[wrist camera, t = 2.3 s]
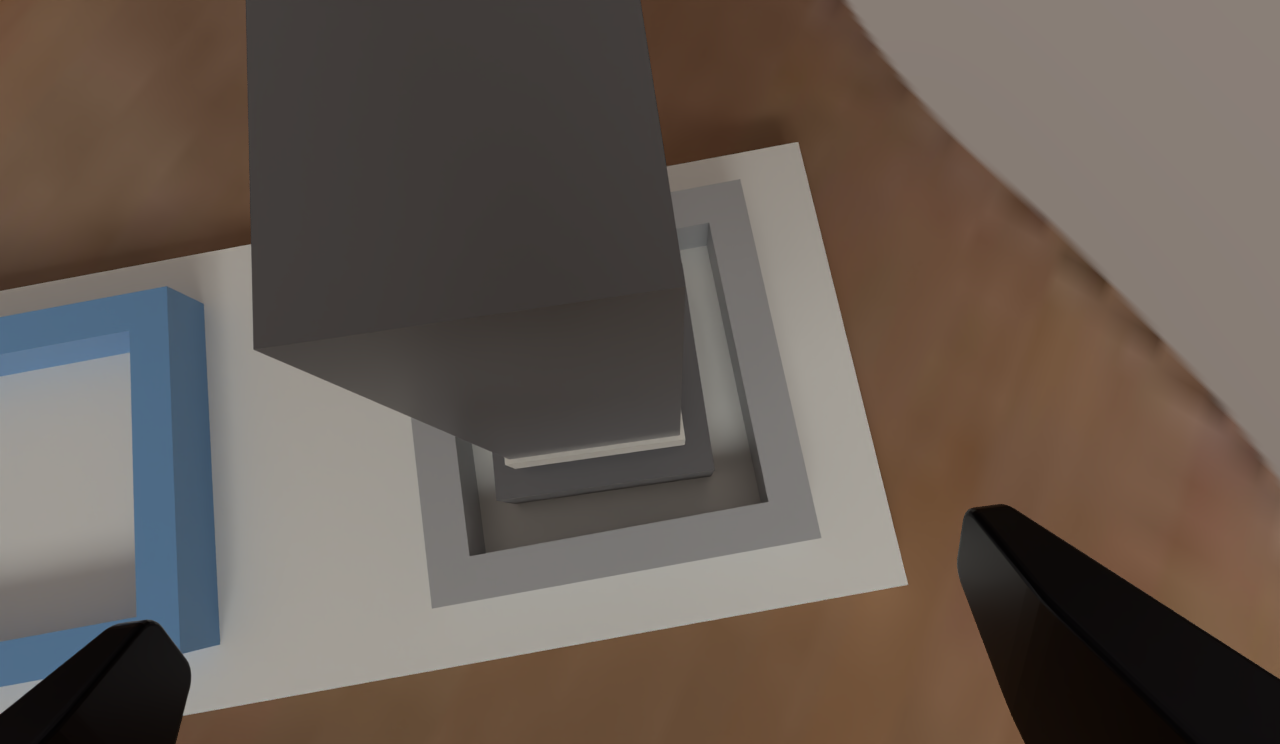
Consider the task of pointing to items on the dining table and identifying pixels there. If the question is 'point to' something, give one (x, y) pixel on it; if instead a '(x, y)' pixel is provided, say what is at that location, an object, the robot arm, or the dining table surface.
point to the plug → (477, 230)
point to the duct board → (414, 477)
